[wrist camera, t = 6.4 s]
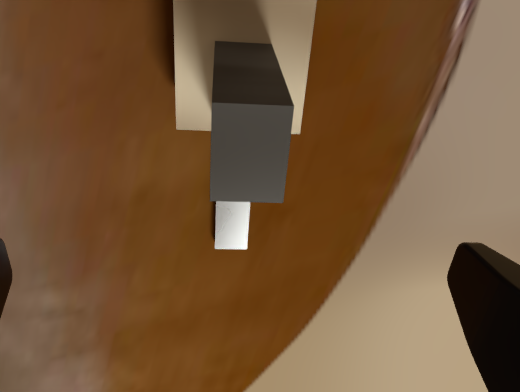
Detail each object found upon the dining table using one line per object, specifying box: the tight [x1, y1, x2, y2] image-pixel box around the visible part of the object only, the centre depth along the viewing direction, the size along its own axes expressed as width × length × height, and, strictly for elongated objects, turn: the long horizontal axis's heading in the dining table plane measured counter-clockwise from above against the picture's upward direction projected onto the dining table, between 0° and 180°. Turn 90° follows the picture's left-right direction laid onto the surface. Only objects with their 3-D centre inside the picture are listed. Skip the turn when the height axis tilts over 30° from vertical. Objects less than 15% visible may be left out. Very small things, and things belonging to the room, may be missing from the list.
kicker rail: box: [215, 201, 250, 249], centre depth 21 cm, size 9×2×1 cm, turn 176°
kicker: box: [173, 0, 317, 203], centre depth 14 cm, size 8×5×7 cm, turn 176°
